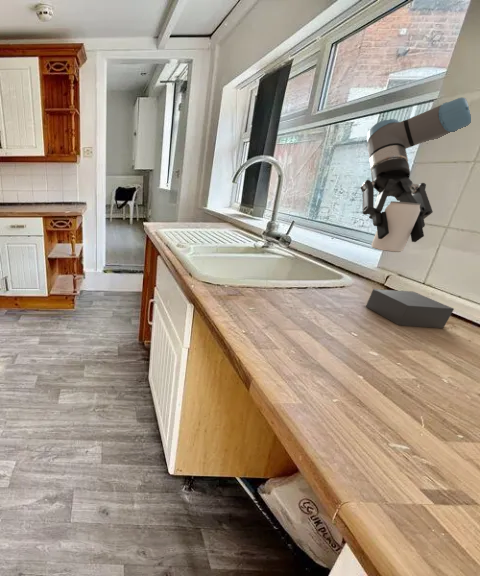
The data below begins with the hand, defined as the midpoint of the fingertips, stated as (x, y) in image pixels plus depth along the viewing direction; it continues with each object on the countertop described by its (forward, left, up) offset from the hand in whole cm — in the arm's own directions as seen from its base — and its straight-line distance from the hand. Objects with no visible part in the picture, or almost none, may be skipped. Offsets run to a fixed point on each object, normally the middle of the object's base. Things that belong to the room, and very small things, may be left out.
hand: (400, 237), depth 76 cm
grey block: (-3, +8, -18) cm, 20 cm away
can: (0, -4, -4) cm, 6 cm away
